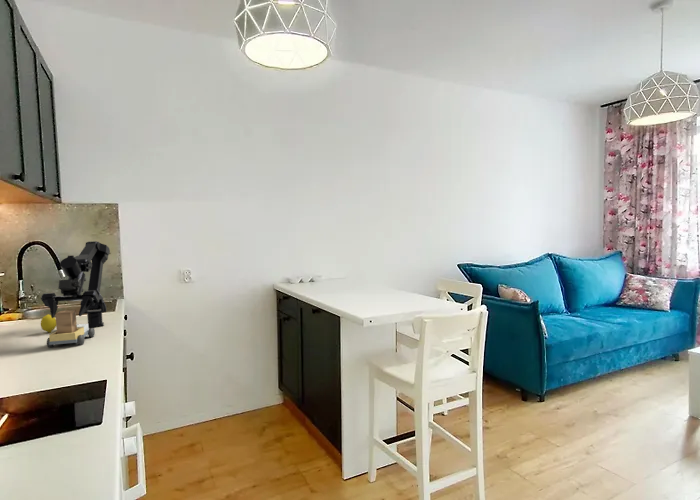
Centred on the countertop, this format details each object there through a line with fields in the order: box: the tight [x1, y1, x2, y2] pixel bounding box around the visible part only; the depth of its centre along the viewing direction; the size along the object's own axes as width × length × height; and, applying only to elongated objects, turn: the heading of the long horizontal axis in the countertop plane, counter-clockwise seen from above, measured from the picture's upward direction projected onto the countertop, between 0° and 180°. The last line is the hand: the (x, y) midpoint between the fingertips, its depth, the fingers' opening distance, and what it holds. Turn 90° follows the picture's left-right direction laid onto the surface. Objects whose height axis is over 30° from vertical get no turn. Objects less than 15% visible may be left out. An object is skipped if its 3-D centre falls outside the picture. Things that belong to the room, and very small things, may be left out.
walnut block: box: [55, 309, 78, 334], centre depth 162 cm, size 5×5×10 cm
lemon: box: [40, 313, 57, 334], centre depth 182 cm, size 6×6×8 cm
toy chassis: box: [46, 323, 96, 348], centre depth 166 cm, size 16×11×5 cm
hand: (66, 316), depth 162 cm, fingers open, 9 cm apart
